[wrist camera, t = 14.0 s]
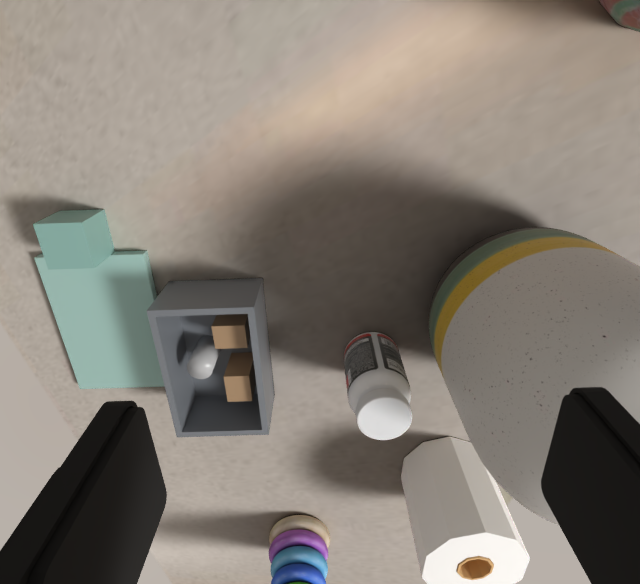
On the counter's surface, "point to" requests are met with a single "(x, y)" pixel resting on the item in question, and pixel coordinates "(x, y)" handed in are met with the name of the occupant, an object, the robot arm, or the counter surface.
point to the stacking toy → (299, 550)
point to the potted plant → (624, 12)
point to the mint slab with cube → (99, 300)
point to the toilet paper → (460, 517)
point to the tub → (214, 356)
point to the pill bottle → (377, 386)
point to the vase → (533, 343)
